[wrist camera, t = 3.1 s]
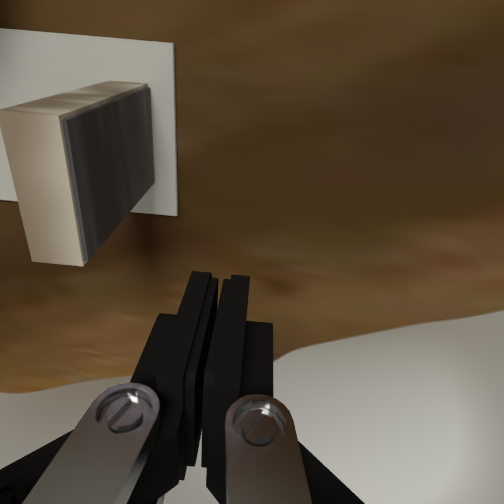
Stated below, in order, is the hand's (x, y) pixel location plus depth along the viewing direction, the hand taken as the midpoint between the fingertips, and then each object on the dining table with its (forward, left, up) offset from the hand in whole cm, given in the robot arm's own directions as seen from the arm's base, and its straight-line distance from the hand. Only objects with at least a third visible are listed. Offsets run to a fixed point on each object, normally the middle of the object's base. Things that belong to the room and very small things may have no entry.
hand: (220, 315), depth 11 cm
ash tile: (+9, 0, -19) cm, 20 cm away
